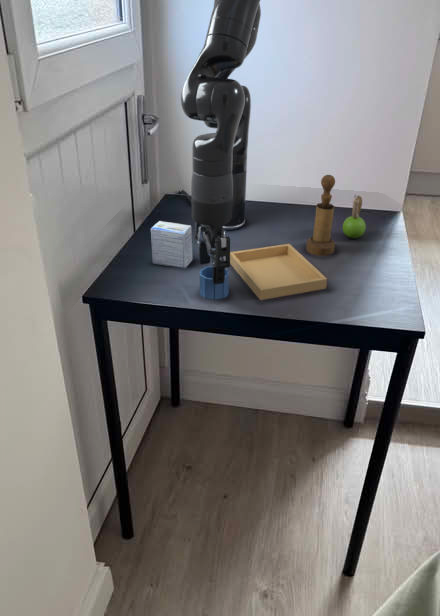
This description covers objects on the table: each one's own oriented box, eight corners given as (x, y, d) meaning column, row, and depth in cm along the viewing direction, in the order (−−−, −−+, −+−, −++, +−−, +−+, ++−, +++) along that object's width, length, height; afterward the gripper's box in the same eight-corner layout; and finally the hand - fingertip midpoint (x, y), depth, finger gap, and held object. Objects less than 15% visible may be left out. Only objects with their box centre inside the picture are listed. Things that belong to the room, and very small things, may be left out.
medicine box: (192, 261, 125) (192, 225, 121) (185, 270, 122) (184, 233, 117) (160, 255, 127) (158, 220, 123) (152, 264, 124) (150, 227, 119)
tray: (228, 263, 125) (229, 252, 123) (288, 254, 129) (289, 243, 128) (260, 302, 111) (260, 290, 109) (325, 290, 115) (327, 278, 113)
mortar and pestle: (333, 258, 127) (343, 181, 118) (304, 255, 128) (312, 179, 119) (334, 246, 133) (344, 171, 123) (306, 243, 134) (314, 169, 124)
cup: (195, 290, 114) (195, 268, 112) (223, 285, 116) (223, 264, 113) (204, 303, 110) (204, 281, 107) (232, 298, 111) (233, 276, 109)
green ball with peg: (338, 241, 135) (344, 193, 129) (343, 231, 140) (350, 185, 134) (361, 245, 134) (368, 196, 127) (365, 235, 139) (373, 188, 132)
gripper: (245, 206, 98) (242, 287, 106) (218, 179, 109) (217, 254, 118) (204, 211, 95) (204, 293, 104) (181, 183, 107) (183, 259, 115)
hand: (211, 272), depth 111 cm, fingers open, 8 cm apart
